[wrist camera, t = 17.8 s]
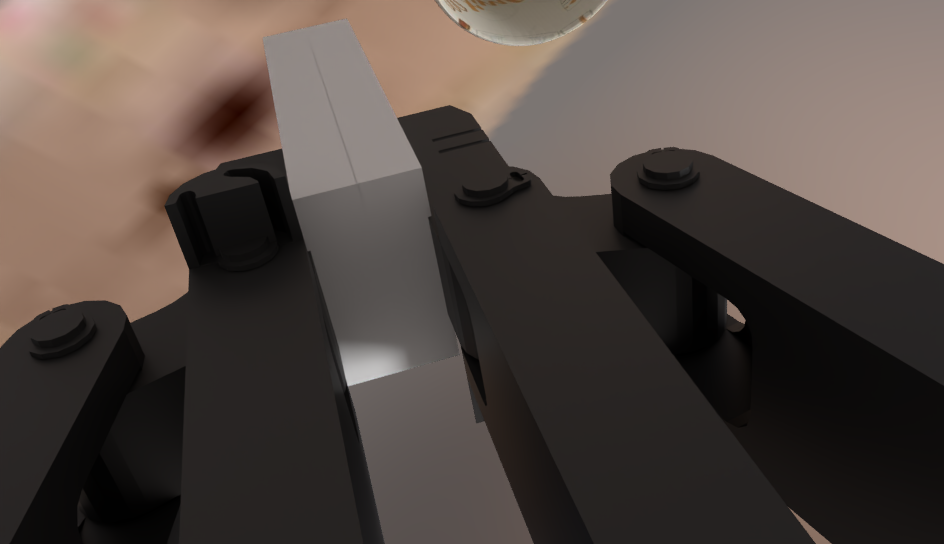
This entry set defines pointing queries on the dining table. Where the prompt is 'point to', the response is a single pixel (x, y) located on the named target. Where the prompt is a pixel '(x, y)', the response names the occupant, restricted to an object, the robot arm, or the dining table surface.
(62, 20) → the dining table surface
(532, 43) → the mug
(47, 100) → the dining table surface
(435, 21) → the dining table surface
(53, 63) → the dining table surface
